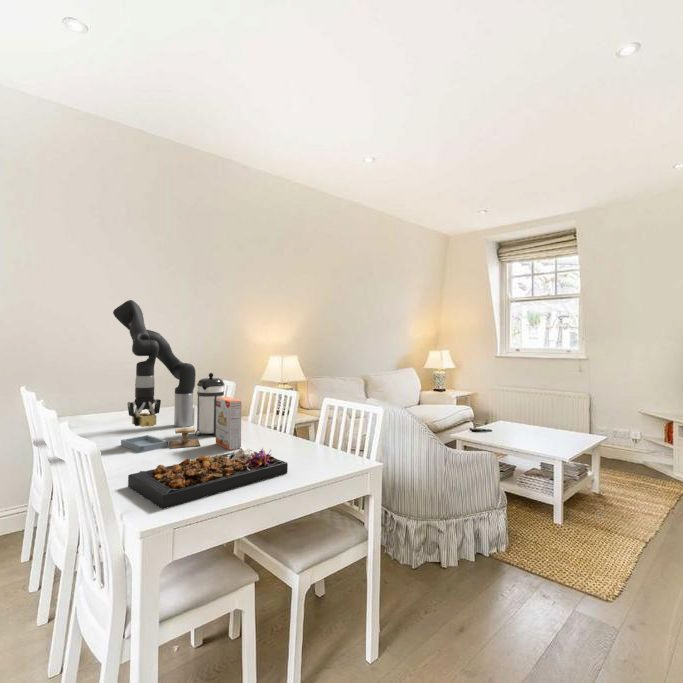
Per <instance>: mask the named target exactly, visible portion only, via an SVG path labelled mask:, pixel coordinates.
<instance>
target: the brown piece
mask: <svg viewBox="0 0 683 683" xmlns="http://www.w3.org/2000/svg"><path fill="white" fill-rule="evenodd" d="M174 430H175V431H174V432H175V434H181V439H180V440H179V439H177V440H176V439H175V440H170V441H169V446H170V449H171V450H172V449H185V448H196V447H201V442H200V441H199V438H195V439H194V438H193V439H189V433H191V434H193V433H195V432H196V429H195V427H182V428H175V429H174Z"/></svg>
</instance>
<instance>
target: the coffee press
mask: <svg viewBox="0 0 683 683" xmlns="http://www.w3.org/2000/svg"><path fill="white" fill-rule="evenodd" d="M196 386H197V394H196V395H197V410H196V411H197V412H196V413H197V414H196V415H197V416H196V418H197V419H196V423H197V424H196V430H195V432H194V436H195V437H198V436H199V435H200V434H212V435H213V437H215V438H216V398H218V397H224V395H225V390H224V388H225V383H224V381H223V379H222V378H219V377H214V373H212V372H209V374H208V377H204V378H201V379H199V380H198V382H197V383H196Z"/></svg>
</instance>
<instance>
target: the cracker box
mask: <svg viewBox="0 0 683 683" xmlns="http://www.w3.org/2000/svg"><path fill="white" fill-rule="evenodd" d="M215 444H216V445H219V446H221V447H222V448H223V449H226V450H228V451H234V450H235V449H236V448H237V449H236V450H240V447H242V446H241V445H242V400H240V399H237V398H233V397H229V396H223V397H218V398H216V437H215Z"/></svg>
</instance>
